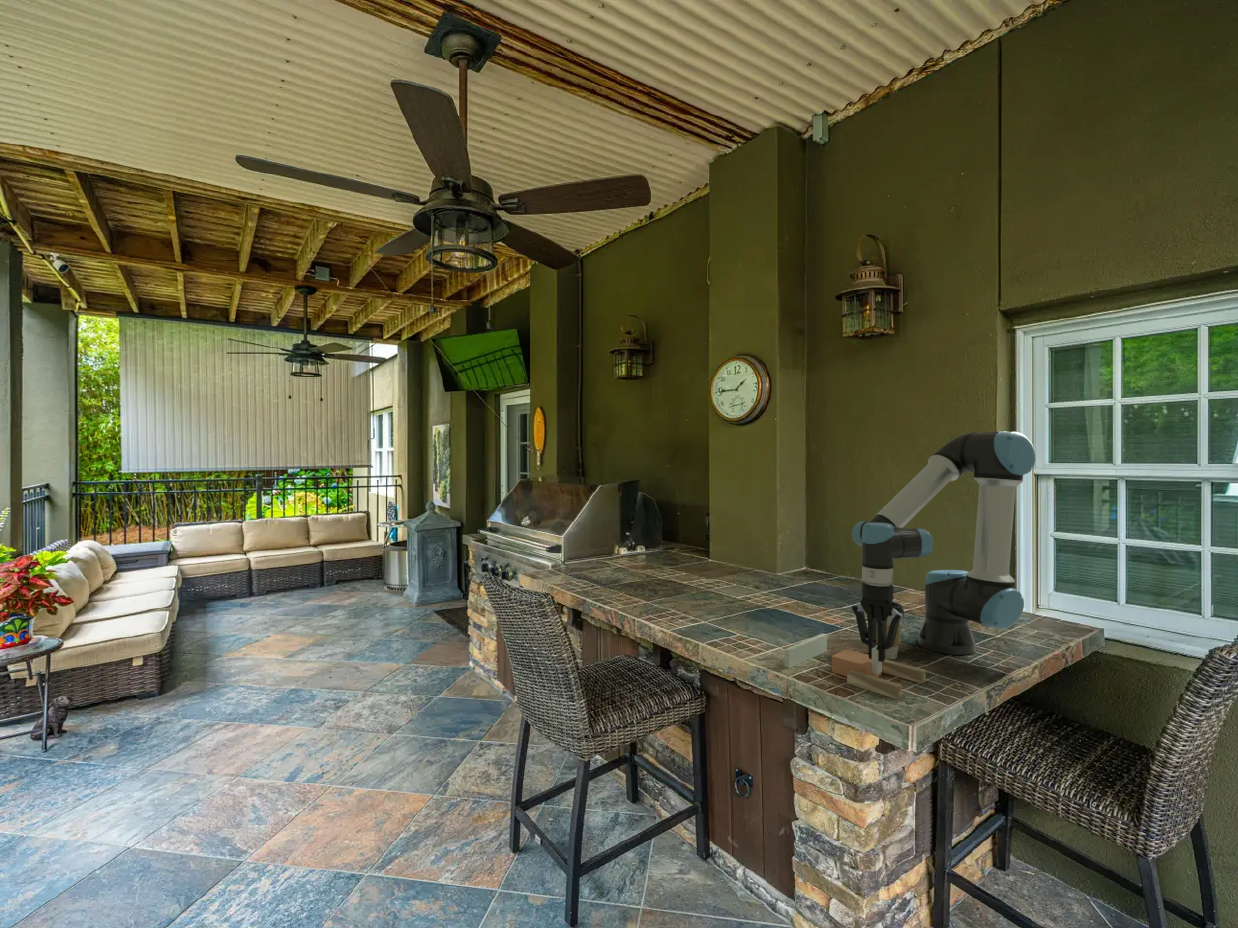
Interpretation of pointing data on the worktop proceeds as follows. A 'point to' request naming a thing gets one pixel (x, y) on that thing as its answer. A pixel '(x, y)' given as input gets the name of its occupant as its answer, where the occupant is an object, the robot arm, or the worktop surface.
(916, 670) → the chute
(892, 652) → the coffee cup
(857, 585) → the worktop surface
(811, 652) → the board
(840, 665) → the block
